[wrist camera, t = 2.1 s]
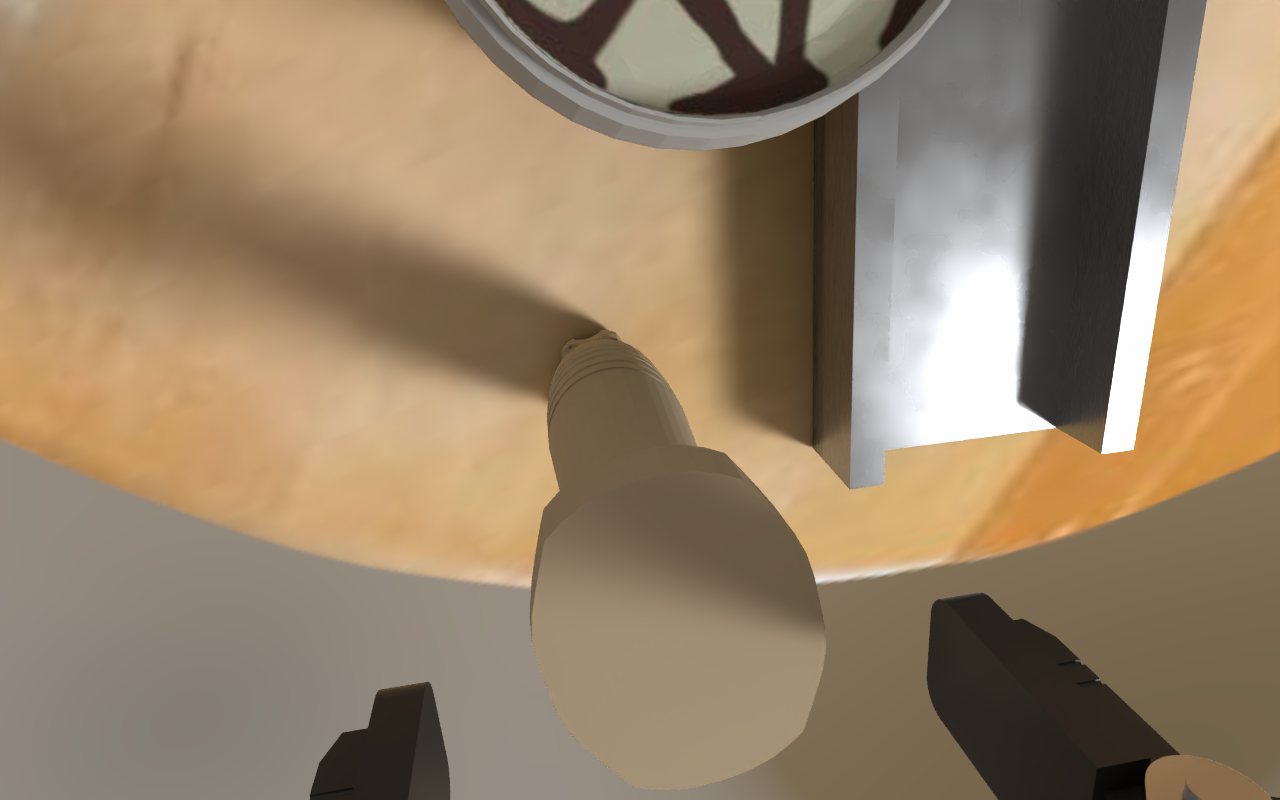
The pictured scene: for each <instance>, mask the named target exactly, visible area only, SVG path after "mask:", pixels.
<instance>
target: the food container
mask: <svg viewBox="0 0 1280 800" xmlns="http://www.w3.org/2000/svg"><path fill="white" fill-rule="evenodd" d="M444 1H445V2H446V4H447V5H448V7H449V9H450V10H451V12H452V13H453V15H454V16H455V18H456V19H457V21H458V23H459V24H460V25H461V27H462V28H463V29H464V30H465V31H466V32H467V33H468V35H469V36H470V37H471V38H472V39H473V40H474V42H475V43H476V44H477V45H478V46H479V47H480V48H481V50H482V51H483V52H484V53H485V54H486V55H487V57H488V58H489V59H490V60H491V61H492V62H493V63H494V64H495V65H496V66H497V67H498V68H499V69H500V70H502V71H503V72H504V73H505V74H506V75H507V76H509V77H510V78H511V79H512V80H513V81H514V82H516V83H517V84H518V85H519V86H520V87H521V88H523V89H524V90H525V91H526V92H527V93H528V94H530V95H531V96H532V97H534V98H535V99H537V100H539V101H540V102H542V103H543V104H545V105H547V106H548V107H550V108H551V109H553V110H555V111H556V112H558V113H560V114H561V115H563V116H564V117H566V118H568V119H569V120H571V121H573V122H575V123H578V124H580V125H582V126H585V127H587V128H590V129H592V130H594V131H597V132H599V133H602V134H604V135H607V136H609V137H611V138H614V139H618V140H623V141H627V142H631V143H635V144H640V145H644V146H648V147H653V148H660V149H676V150H693V151H702V150H711V149H721V148H730V147H739V146H744V145H747V144H751V143H754V142H758V141H761V140H765V139H769V138H772V137H776V136H779V135H783V134H785V133H787V132H789V131H791V130H793V129H795V128H798V127H800V126H802V125H804V124H806V123H808V122H810V121H813V120H815V119H817V118H819V117H821V116H823V115H824V114H826V113H827V112H829V111H830V110H832V109H833V108H835V107H836V106H838V105H839V104H841V103H842V102H844V101H845V100H847V99H848V98H850V97H851V96H853V95H854V94H856V93H857V92H859V91H860V90H862V89H864V88H865V87H867V86H868V85H870V84H871V83H873V82H874V81H876V80H877V79H879V78H880V77H881V76H882V75H883V74H884V73H885V72H886V71H887V70H889V69H890V68H891V67H892V66H893V65H894V64H895V63H896V62H897V61H899V60H900V59H901V58H902V57H903V56H904V55H905V54H906V53H907V52H909V51H910V50H911V49H912V48H913V47H914V46H915V45H916V44H917V42H918V41H919V40H920V39H921V38H922V36H923V35H924V34H925V33H926V32H927V30H928V29H929V28H930V27H931V26H932V24H933V23H934V22H935V21H936V20H937V19H938V17H939V16H940V15H941V14H942V13H943V11H944V10H945V9H946V8H947V6H948V4H949V3H950V1H951V0H444Z"/></svg>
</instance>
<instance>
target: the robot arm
mask: <svg viewBox="0 0 1280 800" xmlns="http://www.w3.org/2000/svg"><path fill="white" fill-rule="evenodd" d="M927 684H928V690H929V694H930V698H931V701H932V704H933V706H934V708H935V711H936V712H937V714H938V716H939V717H940V719H941V721H942V722H943V723H944V725H945V726H946V727H947V729H948V730H949V732H950V733H951V734H952V736H953V737H954V739H955V740H956V741H957V743H958V744H959V745H960V747H961V748H962V749H963V751H964V752H965V754H966V755H967V757H968V758H969V760H970V761H971V762H972V764H973V765H974V766H975V768H976V769H977V771H978V772H979V773H980V775H981V776H982V778H983V779H984V780H985V782H986V783H987V785H988V786H989V787H990V789H991V790H992V792H993V793H994V794H995V796H996V797H997V799H998V800H1280V798H1276V797H1270V796H1269V795H1268V794H1267V793H1266V792H1265V791H1264V790H1263V789H1262V788H1261V787H1260V786H1258V785H1257V784H1256V783H1254V782H1253V781H1252V780H1250V779H1249V778H1247V777H1246V776H1244V775H1242V774H1240V773H1239V772H1237V771H1235V770H1233V769H1231V768H1229V767H1227V766H1225V765H1222V764H1220V763H1218V762H1215V761H1211V760H1208V759H1205V758H1200V757H1195V756H1187V755H1180V754H1179V753H1178V752H1177V751H1176V750H1175V749H1174V748H1173V747H1171V745H1169V744H1168V743H1167V742H1166V741H1165V740H1164V739H1163V738H1162V737H1161V736H1160V735H1159V734H1158V733H1157V732H1156V731H1155V730H1153V728H1152V727H1150V726H1149V725H1148V724H1147V723H1146V722H1145V721H1144V720H1143V719H1142V718H1141V717H1140V716H1139V715H1138V714H1137V713H1136V712H1135V711H1134V710H1132V709H1131V708H1130V707H1129V706H1128V705H1127V704H1126V703H1125V702H1124V701H1123V700H1122V699H1121V698H1120V697H1119V696H1118V695H1117V694H1116V693H1114V692H1113V691H1112V690H1111V689H1110V688H1109V687H1108V686H1107V685H1106V684H1102V683H1101V681H1100V678H1099V677H1098V676H1096V674H1094V673H1093V672H1092V671H1091V670H1090V669H1089V668H1088V667H1087V666H1086V665H1082V664H1081V663H1080V659H1079V658H1078V657H1077V656H1076V655H1074V654H1073V653H1072V652H1071V651H1070V650H1069V649H1068V648H1067V647H1066V646H1065V645H1064V644H1063V643H1061V641H1060V640H1059V639H1057V638H1056V637H1055V636H1053V635H1052V634H1050V633H1048V632H1045V631H1044V630H1042V629H1041V628H1039V627H1037V626H1035V625H1033V624H1031V623H1029V622H1028V621H1026V620H1024V619H1019V620H1012V619H1011V618H1010V617H1009V616H1008V615H1007V614H1006V613H1005V612H1004V611H1003V610H1002V609H1001V608H1000V607H999V606H998V605H997V604H996V603H995V602H994V601H993V600H992V599H991V598H990V597H989V596H988V595H986V594H984V593H975V594H969V595H963V596H957V597H951V598H944V599H938V600H936V601H935V602H934V604H933V606H932V610H931V622H930V638H929V652H928V667H927ZM310 800H450V777H449V767H448V761H447V755H446V751H445V746H444V741H443V736H442V732H441V727H440V722H439V717H438V712H437V707H436V703H435V698H434V694H433V689H432V687H431V684H430V683H429V682H425V683H418V684H412V685H406V686H400V687H394V688H388V689H382V690H379V691H378V692H377V694H376V697H375V700H374V705H373V709H372V713H371V718H370V722H369V726H368V728H367V729H361V730H356V731H350V732H345V733H342V734H341V735H340V737H339V738H338V739H337V741H336V742H335V743H334V745H333V746H332V747H331V748H330V750H329V751H328V752H327V754H326V755H325V756H324V758H323V759H322V760H321V761H320V763H319V766H318V769H317V773H316V776H315V779H314V783H313V786H312V789H311V793H310Z"/></svg>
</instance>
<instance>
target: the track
mask: <svg viewBox="0 0 1280 800" xmlns="http://www.w3.org/2000/svg"><path fill="white" fill-rule="evenodd" d="M1206 2H1207V0H951V1H950V3H949V4H948V6H947V8H946V9H945V10H944V11H943V13H942V14H941V15H940V16H939V17H938V19H937V20H936V21H935V22H934V23H933V24H932V26H931V27H930V28H929V29H928V30H927V32H926V33H925V34H924V35H923V36H922V38H921V39H920V40H919V41H918V42H917V44H916V45H915V46H914V47H913V48H912V49H911V50H910V51H909V52H907V53H906V54H905V55H904V56H903V57H902V58H901V59H900V60H899V61H897V62H896V63H895V64H894V65H893V66H892V67H891V68H890V69H889V70H887V71H886V72H885V73H884V74H883V75H882V76H881V77H880V78H879V79H877V80H876V81H874V82H873V83H871V84H870V85H868V86H867V87H865V88H864V89H862V90H860V91H859V92H857V93H856V94H854V95H853V96H851V97H850V98H848V99H847V100H845V101H844V102H842V103H841V104H839V105H838V106H836V107H835V108H833V109H832V110H830V111H829V112H827V113H826V114H824V115H823V116H821V117H819V118H817V119H815V120H814V309H813V449H814V450H815V451H816V452H817V453H818V454H819V455H820V456H821V458H822V459H823V460H824V461H825V462H826V463H827V464H828V465H829V466H830V468H831V469H832V470H833V471H834V472H835V473H836V474H837V475H838V477H839V478H840V479H841V480H842V481H843V482H844V483H845V484H846V486H847V487H848V488H849V489H856V488H863V487H870V486H877V485H884V468H885V450H891V449H899V448H906V447H914V446H921V445H928V444H936V443H943V442H950V441H958V440H965V439H973V438H980V437H987V436H995V435H1002V434H1009V433H1017V432H1024V431H1032V430H1039V429H1046V428H1054V427H1056V428H1058V429H1060V430H1061V431H1063V432H1065V433H1066V434H1068V435H1070V436H1072V437H1073V438H1075V439H1077V440H1079V441H1080V442H1082V443H1084V444H1086V445H1087V446H1089V447H1091V448H1092V449H1094V450H1096V451H1098V452H1099V453H1101V454H1104V453H1111V452H1119V451H1126V450H1133V448H1134V442H1135V436H1136V429H1137V423H1138V417H1139V411H1140V405H1141V399H1142V393H1143V387H1144V381H1145V374H1146V368H1147V362H1148V356H1149V350H1150V344H1151V338H1152V332H1153V326H1154V319H1155V313H1156V307H1157V301H1158V295H1159V289H1160V283H1161V277H1162V271H1163V264H1164V258H1165V252H1166V246H1167V240H1168V234H1169V228H1170V222H1171V216H1172V209H1173V203H1174V197H1175V191H1176V185H1177V179H1178V173H1179V167H1180V161H1181V154H1182V148H1183V142H1184V136H1185V130H1186V124H1187V118H1188V112H1189V106H1190V99H1191V93H1192V87H1193V81H1194V75H1195V69H1196V63H1197V57H1198V51H1199V44H1200V38H1201V32H1202V26H1203V20H1204V14H1205V8H1206Z"/></svg>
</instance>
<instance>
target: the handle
mask: <svg viewBox="0 0 1280 800" xmlns="http://www.w3.org/2000/svg"><path fill="white" fill-rule="evenodd" d="M561 355H562V361H561V362H560V364H559V365H558V366H557V369H556V371H555V374H554V376H553V378H552V381H551V385H550V390H549V396H548V410H547V424H548V438H549V449H550V453H551V457H552V461H553V465H554V469H555V473H556V477H557V481H558V485H559V489H560V491H559V492H558V493H557V494H556V496H555V497H554V498H553V499H552V500H551V501H550V502H549V504H548V505H547V506H546V507H545V508H544V510H543V515H542V520H541V525H540V530H539V536H538V542H537V548H536V554H535V561H534V568H533V575H532V585H531V601H530V625H531V636H532V643H533V647H534V651H535V655H536V659H537V663H538V666H539V669H540V671H541V674H542V676H543V679H544V681H545V684H546V687H547V689H548V692H549V694H550V697H551V699H552V702H553V704H554V707H555V709H556V711H557V713H558V715H559V717H560V719H561V721H562V722H563V724H564V726H565V728H566V729H567V731H568V732H569V733H570V734H571V735H572V736H573V737H574V738H575V739H576V740H577V742H578V743H579V744H580V745H581V746H582V747H583V748H584V749H586V750H587V751H588V752H589V753H590V754H592V755H593V756H594V757H595V758H597V759H598V760H599V761H600V762H602V763H603V764H604V765H605V766H607V767H608V768H609V769H610V770H612V771H613V772H614V773H616V774H617V775H619V776H620V777H621V778H622V779H624V780H625V781H626V782H628V783H629V784H630V785H632V786H633V787H640V788H646V789H654V790H677V789H685V788H693V787H699V786H703V785H707V784H711V783H714V782H718V781H722V780H725V779H728V778H731V777H733V776H735V775H738V774H741V773H743V772H746V771H748V770H751V769H752V768H754V767H756V766H758V765H760V764H762V763H763V762H765V761H767V760H769V759H771V758H773V757H774V756H775V755H777V754H778V753H779V752H780V751H781V750H783V749H784V748H786V747H787V746H788V745H789V744H790V743H792V742H793V740H794V739H795V738H797V737H798V736H799V735H800V734H801V733H802V732H803V731H804V727H805V725H806V722H807V719H808V716H809V713H810V710H811V706H812V703H813V700H814V697H815V694H816V691H817V687H818V684H819V680H820V677H821V674H822V670H823V664H824V657H825V652H826V638H825V626H824V620H823V615H822V611H821V606H820V601H819V597H818V592H817V588H816V582H815V578H814V574H813V571H812V569H811V566H810V563H809V560H808V557H807V554H806V552H805V551H804V549H803V547H802V545H801V544H800V542H799V540H798V539H797V537H796V535H795V533H794V532H793V531H792V530H791V528H790V527H789V526H788V524H787V523H786V522H785V520H784V519H783V518H782V516H781V515H780V514H779V512H778V511H777V510H776V508H775V507H774V506H773V504H772V503H771V502H770V501H769V500H768V499H767V497H766V496H765V495H764V494H763V493H762V492H761V491H760V489H759V488H758V487H757V486H756V485H755V484H754V483H753V482H752V481H751V480H750V479H749V478H748V477H747V475H746V474H745V473H744V472H743V471H742V470H741V469H740V468H739V467H738V466H737V465H736V464H735V463H734V462H733V461H732V460H731V459H730V458H729V457H728V456H727V455H726V454H725V453H722V452H719V451H715V450H711V449H708V448H704V447H697V445H696V442H695V439H694V437H693V434H692V432H691V429H690V427H689V424H688V421H687V419H686V416H685V414H684V411H683V408H682V407H681V405H680V403H679V401H678V399H677V398H676V396H675V394H674V393H673V391H672V389H671V388H670V386H669V384H668V383H667V381H666V380H665V378H664V377H663V376H662V375H661V373H660V372H659V371H658V370H657V368H656V367H655V366H654V365H653V363H652V362H651V361H650V360H649V359H648V358H646V357H645V356H644V355H643V354H642V353H641V352H640V351H638V350H636V349H635V348H633V347H632V346H630V345H628V344H626V343H623V342H622V341H621V340H620V338H619V336H618V335H617V334H616V333H615V332H613V331H609V330H600V331H599V333H598V334H596V335H594V336H592V337H590V338H587V339H580V340H576V339H571V340H569V341H568V342H567V343H566V344H565V345H564V346H563V348H562V354H561Z"/></svg>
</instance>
